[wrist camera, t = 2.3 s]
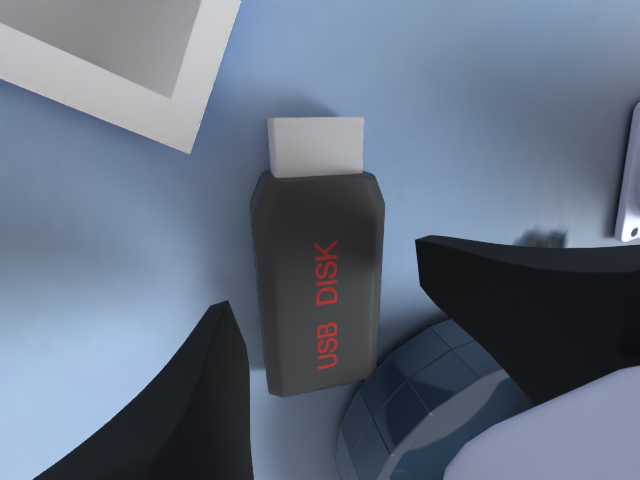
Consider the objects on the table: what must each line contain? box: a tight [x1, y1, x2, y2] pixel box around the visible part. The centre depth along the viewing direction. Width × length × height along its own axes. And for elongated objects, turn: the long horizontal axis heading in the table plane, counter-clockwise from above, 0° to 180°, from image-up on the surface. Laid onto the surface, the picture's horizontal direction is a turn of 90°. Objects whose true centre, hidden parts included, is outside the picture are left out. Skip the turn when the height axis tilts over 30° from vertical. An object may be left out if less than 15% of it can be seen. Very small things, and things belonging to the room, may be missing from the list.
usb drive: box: [250, 117, 385, 397], centre depth 13 cm, size 5×12×3 cm, turn 2°
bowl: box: [335, 319, 535, 480], centre depth 19 cm, size 16×16×4 cm
